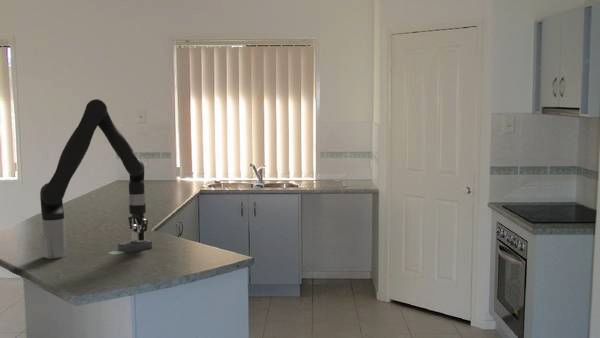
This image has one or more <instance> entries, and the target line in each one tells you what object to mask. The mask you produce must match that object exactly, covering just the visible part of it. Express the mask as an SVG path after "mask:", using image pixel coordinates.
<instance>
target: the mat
mask: <svg viewBox="0 0 600 338" xmlns="http://www.w3.org/2000/svg"><path fill="white" fill-rule="evenodd" d="M106 253H107V254H110V255H113V256H116V255H120V254H125V253H127V252H123V251H120V250H118V249H117V250H112V251H108V252H106Z"/></svg>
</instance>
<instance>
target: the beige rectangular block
mask: <svg viewBox="0 0 600 338" xmlns="http://www.w3.org/2000/svg"><path fill="white" fill-rule="evenodd" d="M146 240H147V238H146V231H145V232H144V240H142V241H140V240H139V230H136V231H131V241H132V243H135V244H138V243H144V242H146Z"/></svg>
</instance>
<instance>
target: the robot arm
mask: <svg viewBox="0 0 600 338" xmlns="http://www.w3.org/2000/svg"><path fill="white" fill-rule="evenodd" d="M107 106H108V105H106V103H105V102H104V101H103V100H101V99H98V98H97V99H96V98H94V99H91V100H90V101H88V103H87V104H86V106H85V109H84V111H83V114H82V117H81V119H80V121H79V123H78V125H77V127H76V128H75V129H74V131H73V133H72V134H71V135H70V137H69V139H68V140H67V142H66V144H65V146H64V147H63V150H62V152H61V154H60V156H59V159H58V163H57V166H56V169H55V171H54V173H53V176H51V179H50V180H49V182H47V183H45V184H43V186H42V187H41V188H40V191H39V196H40V198H39V199H40V212H41V219H42V235H41V250H42V258H45V259H47V260H50V259H52V260H53V259H54V260H55V259H60V258H61V259H62V258H64V257H66V256H67V247H66V246H67V244H66V243H67V241H66V225H65V224H66V223H65V210H64V206H63V201H64V200H63V199H64V197H65V194H66V191H67V189H68V186H69V184H70V181H71V179H72V178H73V176H74V175H75V173H76V171H77V169H78V168H79V166H80V165H81V163H82V161H83V159H84V157H85V155H86V154H87V152H88V150H89V147H90V144H91V141H92V139H93V137H94V134H95V132H96V129H97V127H99V129H100V130H101V131H102V133H103V134H104V136H105V138H106V139H107V141H108V143H109V144H110V146H111V147H112V149H113V151H114V152H115V154H116V155H117V156H118V158H119V159H120V161H121V163H122V164H123V167H124V168H125V170H126V171H127V173H128V174H129V182H128V213H129V214H130V216H127V219H128V224H129V225H128V226H129V229H130V230H132V231H136V230H139V240H140V241H142V240H144V232H145V233H146V232H147V231H148V224H149V220H148V218H147V219H146V218H145V216H144V215H145V214H146V213H147V209H146V208H147V207H146V203H147V202H146V194H145V193H146V191H145V165H144V162H143V161H141V160H139V159H138V158H137V156H136V155H135V153H134V149H133V148H132V147H131V145H130V144H129V142H128V141H127V139H126V138H125V137H124V135H123V134H122V133H121V131H120V130H119V129H118V127H117V126H116V125H115V123H114V122H113V121H112V119H111V116H110V114H109V111H108V107H107ZM132 231H131V232H132Z"/></svg>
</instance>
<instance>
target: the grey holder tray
mask: <svg viewBox="0 0 600 338" xmlns="http://www.w3.org/2000/svg"><path fill="white" fill-rule="evenodd" d="M152 248H153V242H152V240H148V239H146V242H144V243H138V244H135V243H132V240H130V241H123V242H118V243H117V251H118V250H120V251H123V252H126V253H132V252H133V253H134V252H137V251H143V250H147V249H148V250H149V249H152Z"/></svg>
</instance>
